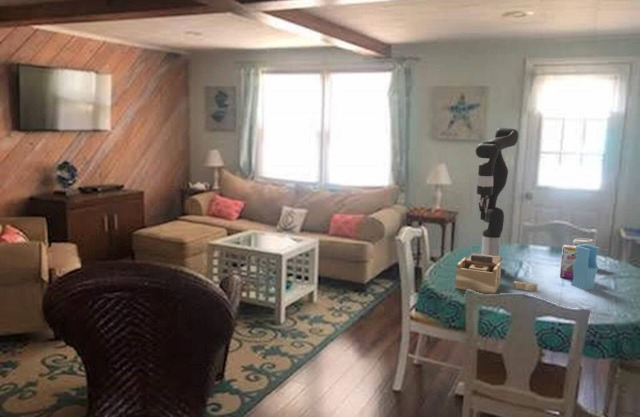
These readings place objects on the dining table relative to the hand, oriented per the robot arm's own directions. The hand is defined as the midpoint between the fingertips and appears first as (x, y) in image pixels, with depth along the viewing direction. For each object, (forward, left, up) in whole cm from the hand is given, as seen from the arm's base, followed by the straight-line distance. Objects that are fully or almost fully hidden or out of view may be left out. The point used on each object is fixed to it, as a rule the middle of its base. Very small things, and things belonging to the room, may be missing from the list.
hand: (482, 219), depth 271 cm
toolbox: (+12, +2, -31) cm, 33 cm away
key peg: (+4, +28, -30) cm, 41 cm away
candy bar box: (-27, +41, -31) cm, 58 cm away
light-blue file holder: (-14, +47, -31) cm, 58 cm away
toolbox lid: (+1, +2, -21) cm, 21 cm away
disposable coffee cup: (-54, +44, -31) cm, 76 cm away
